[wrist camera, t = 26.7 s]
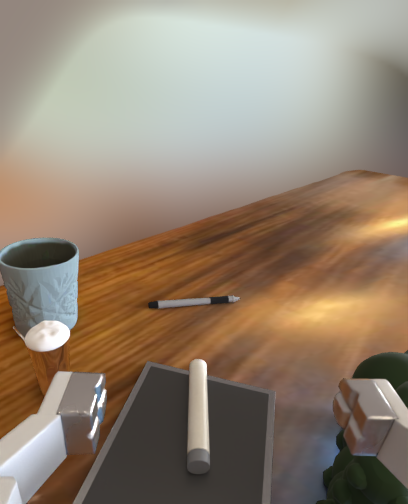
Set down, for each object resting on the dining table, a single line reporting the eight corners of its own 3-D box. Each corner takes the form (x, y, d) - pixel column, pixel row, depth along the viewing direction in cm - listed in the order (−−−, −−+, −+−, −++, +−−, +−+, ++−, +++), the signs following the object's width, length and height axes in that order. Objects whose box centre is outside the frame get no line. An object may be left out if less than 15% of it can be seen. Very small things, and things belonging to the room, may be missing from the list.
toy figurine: (384, 649, 25) (438, 411, 42) (507, 536, 15) (512, 287, 32) (270, 546, 30) (360, 371, 47) (310, 413, 20) (404, 254, 37)
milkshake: (27, 380, 42) (14, 314, 37) (74, 369, 44) (66, 306, 39) (26, 410, 38) (11, 341, 33) (77, 397, 40) (69, 330, 36)
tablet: (260, 693, 21) (263, 689, 21) (24, 602, 24) (22, 597, 24) (274, 395, 43) (275, 390, 42) (147, 365, 45) (147, 360, 45)
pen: (148, 306, 57) (148, 300, 57) (239, 299, 62) (239, 293, 61) (148, 311, 56) (149, 304, 56) (241, 303, 60) (242, 297, 60)
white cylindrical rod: (214, 469, 32) (209, 367, 44) (201, 457, 31) (200, 356, 43) (195, 477, 32) (195, 373, 44) (182, 465, 32) (186, 363, 43)
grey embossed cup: (-5, 329, 49) (-22, 256, 44) (49, 295, 58) (39, 231, 52) (50, 352, 46) (38, 277, 41) (97, 313, 54) (93, 246, 49)
